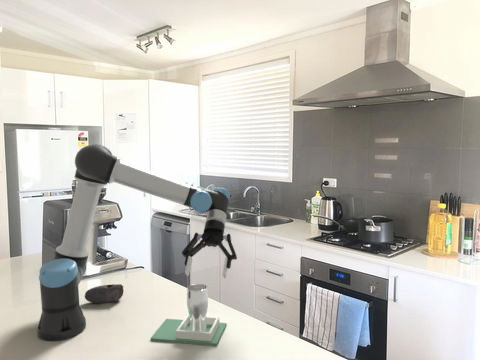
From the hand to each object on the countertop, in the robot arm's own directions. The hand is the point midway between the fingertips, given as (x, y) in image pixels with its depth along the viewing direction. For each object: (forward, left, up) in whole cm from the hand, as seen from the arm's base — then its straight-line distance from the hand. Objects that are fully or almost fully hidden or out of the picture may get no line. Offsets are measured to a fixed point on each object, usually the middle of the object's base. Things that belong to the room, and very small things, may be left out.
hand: (205, 275), depth 138 cm
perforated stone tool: (-45, +11, -17) cm, 50 cm away
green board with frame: (-3, -8, -17) cm, 19 cm away
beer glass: (0, -8, -16) cm, 18 cm away
